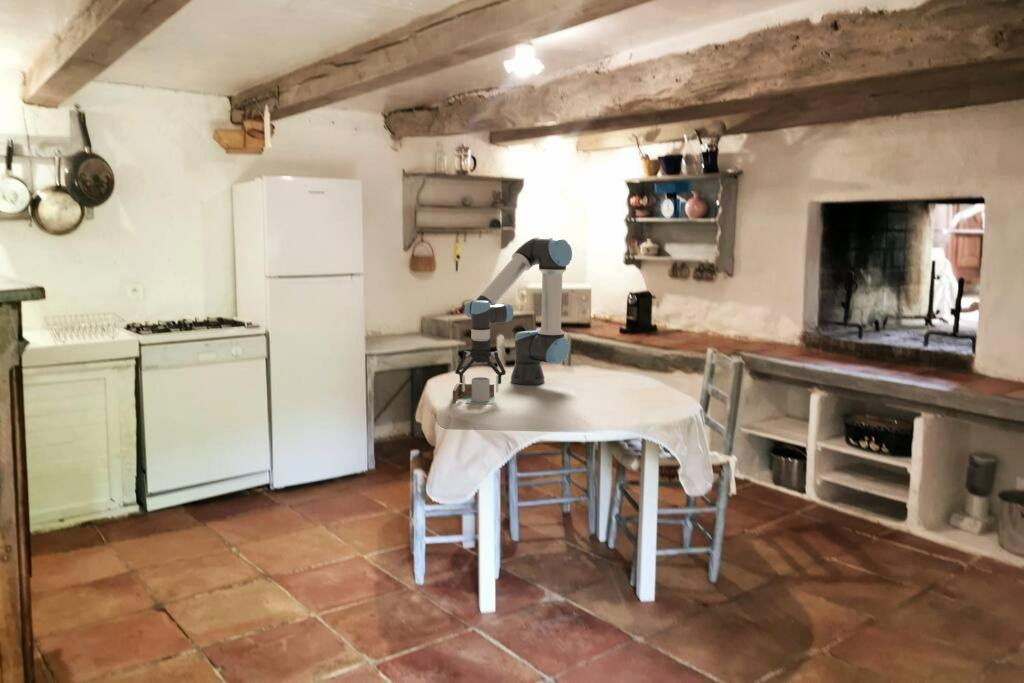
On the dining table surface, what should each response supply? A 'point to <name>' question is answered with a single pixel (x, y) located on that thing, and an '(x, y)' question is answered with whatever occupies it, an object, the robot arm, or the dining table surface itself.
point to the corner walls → (468, 391)
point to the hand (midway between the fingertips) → (480, 391)
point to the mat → (469, 401)
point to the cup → (480, 389)
